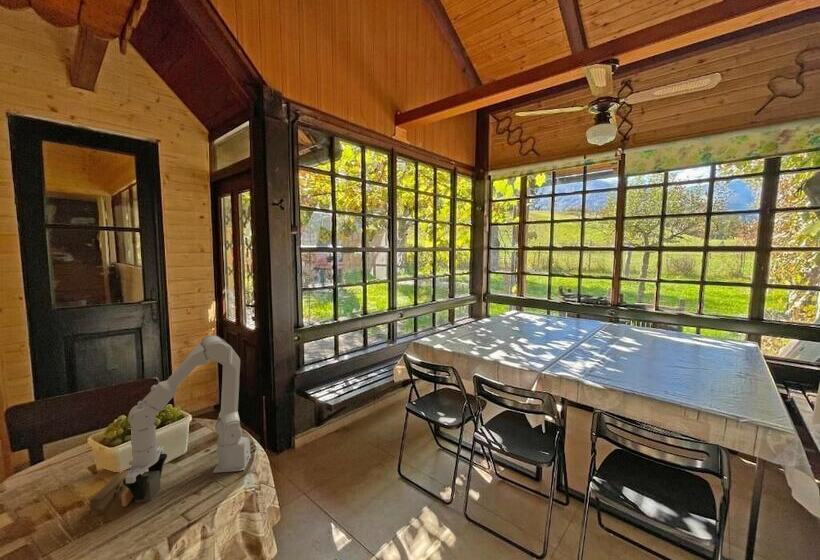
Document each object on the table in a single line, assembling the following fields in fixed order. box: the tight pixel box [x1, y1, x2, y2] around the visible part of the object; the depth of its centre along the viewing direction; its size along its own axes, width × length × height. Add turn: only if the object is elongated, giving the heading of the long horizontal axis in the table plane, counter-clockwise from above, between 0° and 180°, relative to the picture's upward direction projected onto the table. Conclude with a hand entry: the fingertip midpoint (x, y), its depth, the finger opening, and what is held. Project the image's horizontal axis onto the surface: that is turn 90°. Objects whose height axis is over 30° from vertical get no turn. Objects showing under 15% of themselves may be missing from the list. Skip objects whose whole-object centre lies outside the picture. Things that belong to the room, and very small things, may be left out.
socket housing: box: [89, 469, 130, 516], centre depth 101 cm, size 3×12×4 cm, turn 8°
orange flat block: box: [120, 488, 135, 507], centre depth 102 cm, size 1×8×4 cm, turn 7°
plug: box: [131, 470, 162, 503], centre depth 102 cm, size 6×5×6 cm
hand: (148, 489), depth 102 cm, fingers open, 7 cm apart
